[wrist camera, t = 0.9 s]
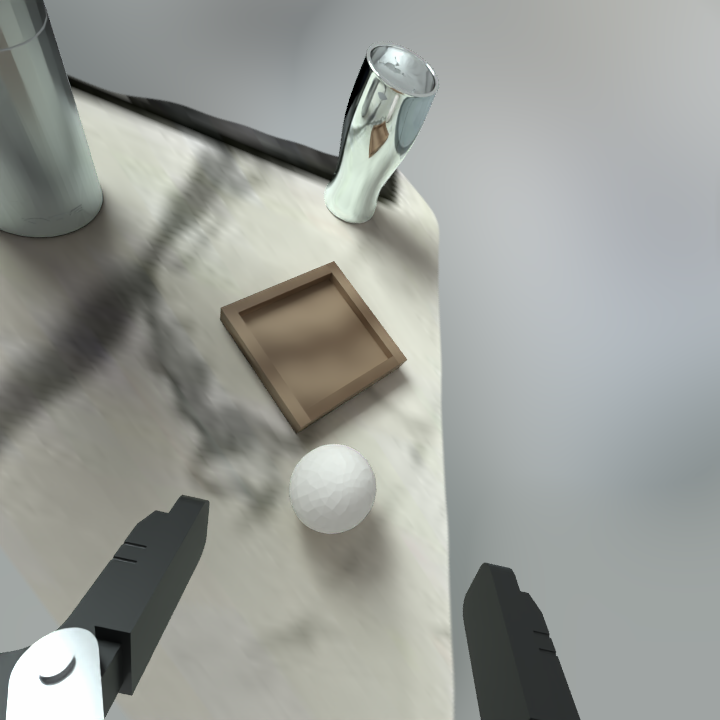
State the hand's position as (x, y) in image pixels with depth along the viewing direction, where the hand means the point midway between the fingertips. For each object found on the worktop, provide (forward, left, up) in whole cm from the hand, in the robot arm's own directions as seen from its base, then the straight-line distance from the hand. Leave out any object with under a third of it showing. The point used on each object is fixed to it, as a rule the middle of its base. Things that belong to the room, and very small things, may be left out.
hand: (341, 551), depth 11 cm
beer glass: (-25, +27, -20) cm, 41 cm away
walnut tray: (-12, +13, -20) cm, 26 cm away
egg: (-1, +6, -20) cm, 21 cm away
